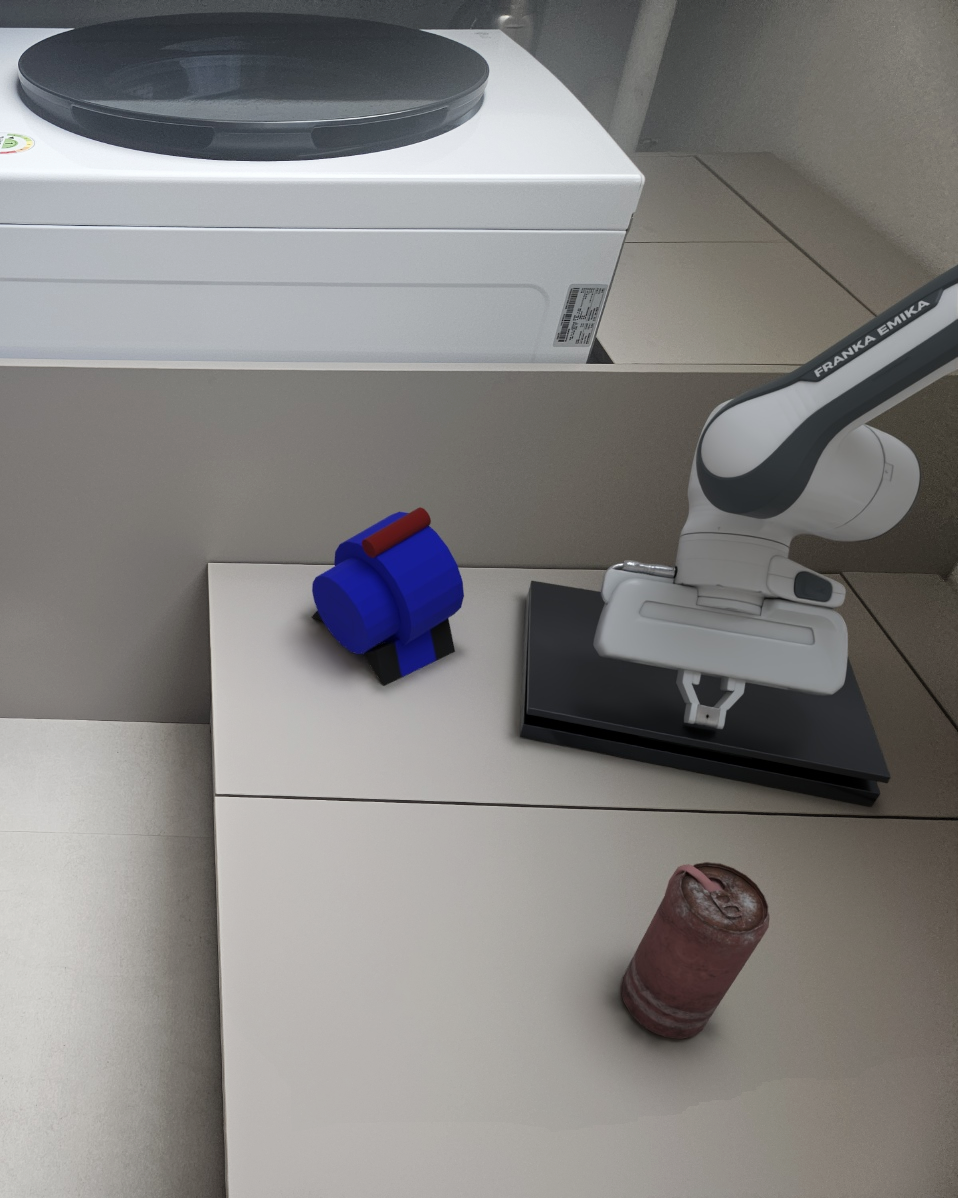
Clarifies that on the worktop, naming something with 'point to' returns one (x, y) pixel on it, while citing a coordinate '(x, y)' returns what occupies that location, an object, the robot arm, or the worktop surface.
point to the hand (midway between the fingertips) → (702, 726)
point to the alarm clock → (392, 595)
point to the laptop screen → (656, 707)
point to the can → (694, 948)
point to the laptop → (690, 754)
